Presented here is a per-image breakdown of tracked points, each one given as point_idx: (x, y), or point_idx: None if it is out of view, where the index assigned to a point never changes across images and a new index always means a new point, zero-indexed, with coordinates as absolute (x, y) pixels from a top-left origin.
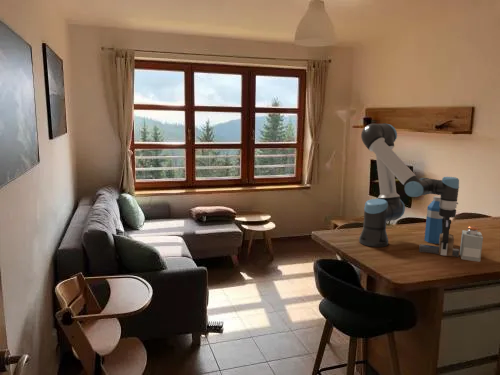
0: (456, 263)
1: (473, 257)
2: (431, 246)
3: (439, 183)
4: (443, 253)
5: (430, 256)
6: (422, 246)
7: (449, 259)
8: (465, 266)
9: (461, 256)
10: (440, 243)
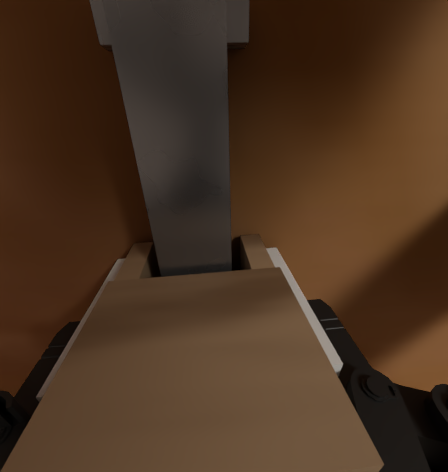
0: (21, 346)
1: None
2: (185, 188)
3: None
4: None
5: (27, 172)
6: (112, 30)
7: (78, 310)
8: (8, 381)
9: None
10: (76, 351)
